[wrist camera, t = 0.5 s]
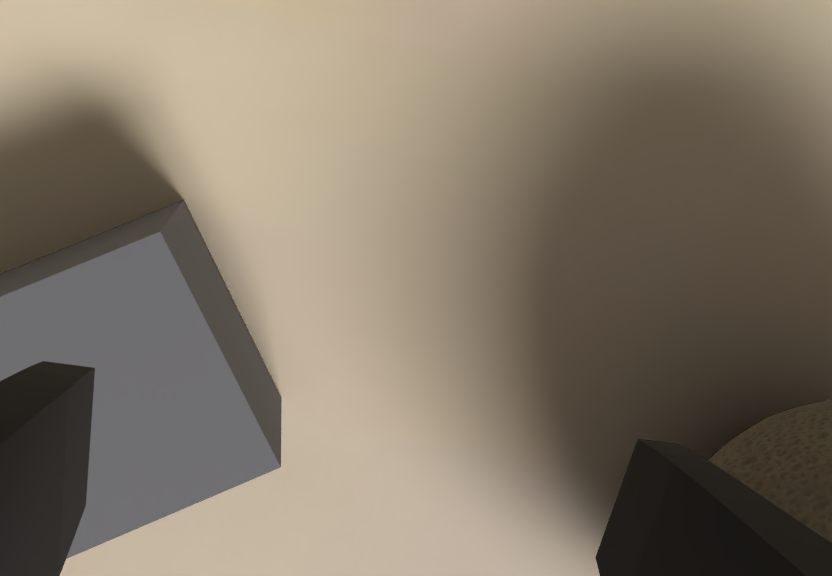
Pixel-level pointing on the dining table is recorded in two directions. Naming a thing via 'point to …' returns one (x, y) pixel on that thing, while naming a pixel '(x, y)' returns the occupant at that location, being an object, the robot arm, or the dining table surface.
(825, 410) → the cantaloupe
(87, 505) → the doorstop
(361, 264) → the dining table surface
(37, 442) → the robot arm
